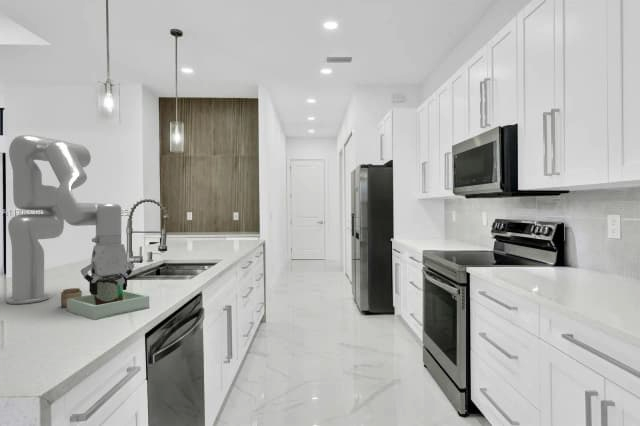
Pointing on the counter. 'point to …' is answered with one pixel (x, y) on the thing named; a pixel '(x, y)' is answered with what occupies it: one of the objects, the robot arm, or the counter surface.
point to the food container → (109, 289)
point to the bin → (107, 305)
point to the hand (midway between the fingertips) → (108, 291)
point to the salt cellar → (69, 295)
